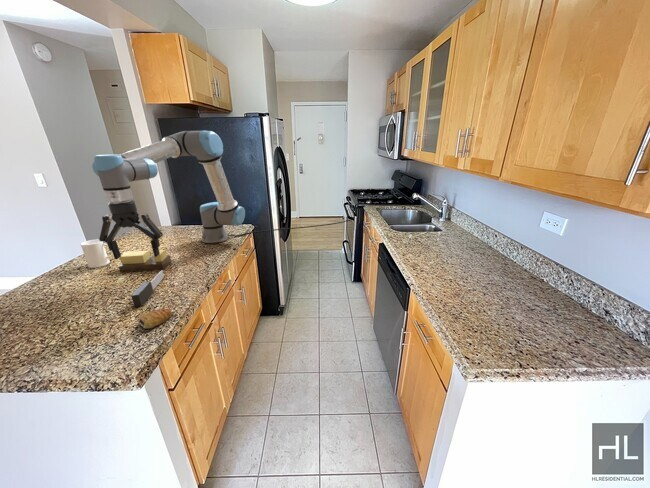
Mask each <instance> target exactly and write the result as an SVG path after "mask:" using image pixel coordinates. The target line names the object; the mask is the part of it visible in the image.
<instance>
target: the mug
mask: <svg viewBox="0 0 650 488" xmlns="http://www.w3.org/2000/svg"><path fill="white" fill-rule="evenodd" d="M106 247H108V245H107V243H106V242H104V241H102V242H101V241H99V238H94V239H89V240H85V241H82V242H80V248H81V250H82V252H83V255H84V259H85V260H86V264H87V268H90V269H96V268H101V267H103V266H107V265H109V264H110V263H111V261H110V258H111V257H112V256H114V255H113V252H112V251H111V254H109V255H108V254H107V251H106Z"/></svg>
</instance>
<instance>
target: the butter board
mask: <svg viewBox="0 0 650 488" xmlns="http://www.w3.org/2000/svg"><path fill="white" fill-rule="evenodd" d="M166 255H167V254H166ZM170 262H172V257H171V255H170V254H169V255H167V257H166V258H165V259H164V260H163V261H162V262H155V259H154V255H152V256H151V255H150V259H148V260H147V261H146V262H145V263H135V264H122V263H120V264H119V265H117V266H118V270H119V272H120V273H126V272H127V273H128V272H139V271H155V270H157V271H158V270H164V269H165V268H166V267H167V266H168V265H169V264H170Z"/></svg>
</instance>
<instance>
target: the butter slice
mask: <svg viewBox="0 0 650 488" xmlns="http://www.w3.org/2000/svg"><path fill="white" fill-rule="evenodd" d="M159 253H160V254H159V255H158V256H157V257H155V256H154V255H153V256H154V259H155V262H162V261H163V260H164V259H165V258H166V257H167V252H166V249H159Z"/></svg>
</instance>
